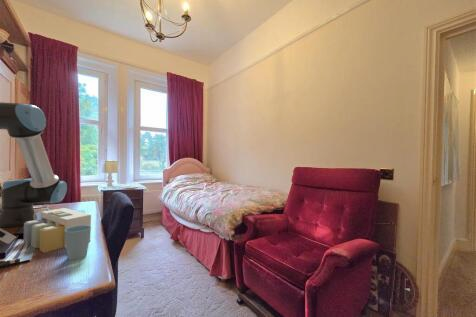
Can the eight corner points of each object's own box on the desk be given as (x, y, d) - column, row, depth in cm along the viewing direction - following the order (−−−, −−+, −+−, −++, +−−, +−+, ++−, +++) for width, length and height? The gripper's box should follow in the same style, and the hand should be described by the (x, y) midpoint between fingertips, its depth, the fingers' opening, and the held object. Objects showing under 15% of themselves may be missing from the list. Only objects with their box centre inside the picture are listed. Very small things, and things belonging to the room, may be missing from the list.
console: (65, 248, 86) (66, 218, 86) (40, 237, 96) (40, 210, 96) (90, 241, 94) (91, 213, 94) (64, 232, 104) (64, 207, 104)
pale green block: (35, 248, 85) (36, 226, 85) (31, 246, 87) (31, 224, 87) (60, 241, 92) (60, 221, 92) (55, 239, 94) (56, 220, 94)
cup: (71, 264, 74) (72, 233, 74) (59, 259, 77) (60, 229, 77) (94, 255, 81) (95, 227, 81) (82, 251, 84) (83, 224, 84)
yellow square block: (44, 252, 81) (45, 230, 81) (39, 250, 83) (40, 228, 83) (69, 245, 88) (69, 224, 88) (64, 243, 90) (64, 223, 90)
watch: (56, 230, 106) (56, 207, 106) (33, 234, 100) (34, 210, 100) (53, 228, 110) (54, 206, 110) (31, 231, 103) (32, 208, 103)
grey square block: (27, 244, 88) (28, 223, 88) (23, 242, 90) (24, 221, 90) (51, 238, 95) (52, 218, 95) (47, 236, 97) (48, 217, 97)
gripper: (-92, 206, 61) (-7, 246, 75) (-84, 212, 55) (7, 255, 69) (-59, 185, 66) (15, 227, 80) (-48, 188, 59) (30, 233, 74)
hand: (11, 240), depth 75 cm, fingers closed
